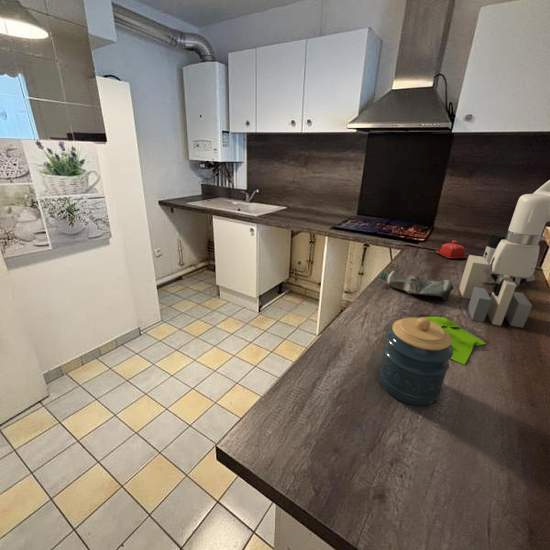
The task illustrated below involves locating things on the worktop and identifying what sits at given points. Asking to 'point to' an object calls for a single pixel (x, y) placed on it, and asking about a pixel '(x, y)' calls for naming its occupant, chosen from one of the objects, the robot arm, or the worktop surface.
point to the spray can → (492, 252)
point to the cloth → (458, 339)
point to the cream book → (501, 301)
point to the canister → (415, 360)
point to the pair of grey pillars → (514, 313)
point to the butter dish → (452, 250)
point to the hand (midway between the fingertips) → (501, 294)
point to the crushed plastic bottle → (418, 285)
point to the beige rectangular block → (473, 275)
